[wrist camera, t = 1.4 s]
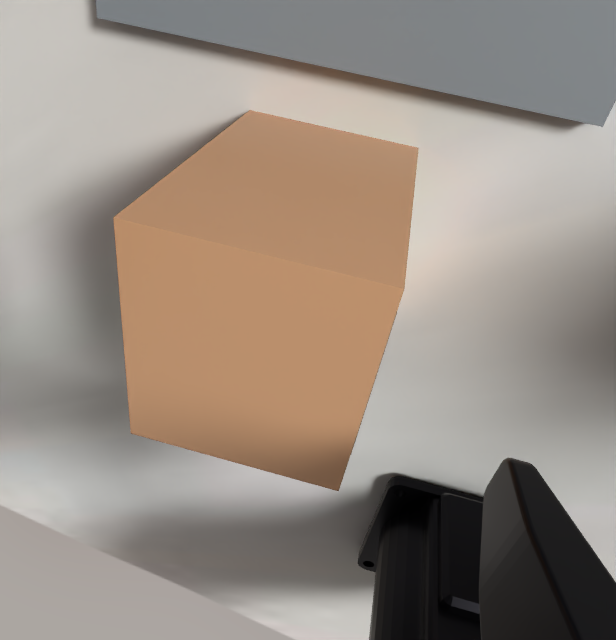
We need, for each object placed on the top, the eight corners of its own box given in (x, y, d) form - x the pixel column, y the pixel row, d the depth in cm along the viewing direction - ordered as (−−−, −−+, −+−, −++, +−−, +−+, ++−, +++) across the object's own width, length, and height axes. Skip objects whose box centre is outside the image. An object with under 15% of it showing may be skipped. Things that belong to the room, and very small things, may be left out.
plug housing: (374, 305, 16) (340, 491, 10) (234, 270, 16) (128, 433, 11) (420, 148, 13) (407, 289, 7) (247, 109, 13) (109, 216, 8)
